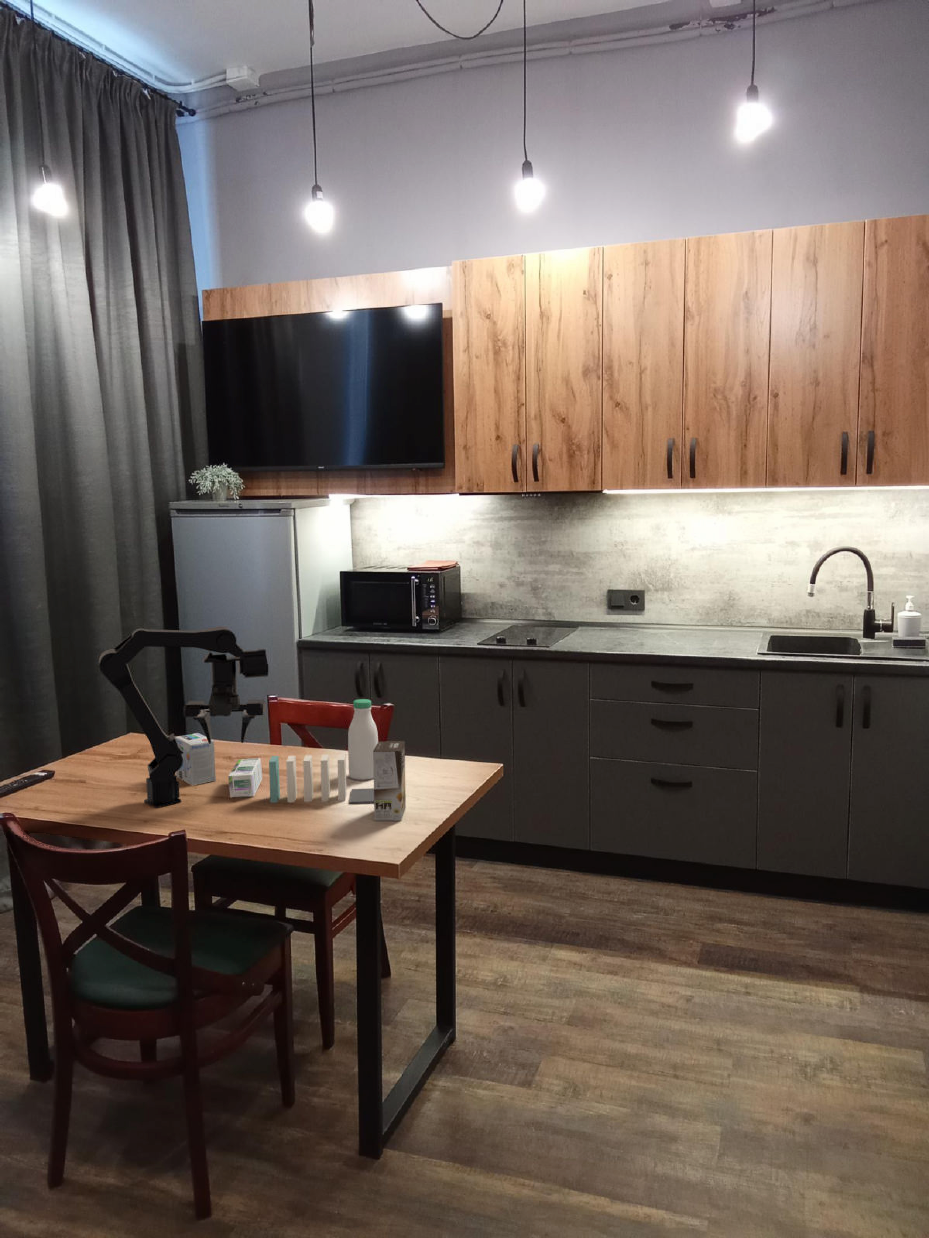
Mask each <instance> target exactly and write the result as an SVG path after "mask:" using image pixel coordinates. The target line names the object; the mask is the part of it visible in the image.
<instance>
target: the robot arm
mask: <svg viewBox="0 0 929 1238" xmlns="http://www.w3.org/2000/svg"><path fill="white" fill-rule="evenodd" d="M146 647H147V648H148V647H154V648H157V647H158V648H162V647H163V648H197V649H202V650H206V651H208V652H207V654H206V655H205V656H204V657H203V658H202V661H203V663H205V664H208V663H210V664H211V685H212V686H211V693H210V697H209V702H208V704H205V701H204V700H189V701H188V702H187V703H186V704H185V705H184V706H183V708H182V709H183V710H182V711H183V717H184V718H185V717H186V718H190V717H191V718H192V720H193V721H197V722H198V723H199V725H200V726H201V727H202V729H203V732H204V736H205V737H207V740H208V742H209V744H211V740H213V739H212V737H213V736H212V727H211V725H212V724H211V717H212V718H213V717H220V716H221V717H229V716H230V715H231V714H232V712H236V713H237V712H238V713H239V712H240V713H241V712H243V715H242V717H241V733H240V742H241V744H244V742H245V739H246V736H247V732H248V728H249V726H250V723H251V721H252V720H254V719H255V718H256V717H257V716H264V715H265V713H266V711H267V707H266V706H267V704H266V701H265V700H264V699H248V701H247V703H241V701H240V695H239V694H238V687H237V684H238V683H237V672H238V674H239V675H242V677H243V679H250V678H251V679H252V678H266V677H267V678H268V675H269V663H268V659H267V651H266V649H265V648H257V649H249V650H243V648H242V647H241V646H240V645H238V644H237V637H236V634H235V633H234V632H233V631H231V629H230V628H229V627H227V626H223V625H221V626H214V627H207V628H203V629H197V630H184V629H183V630H181V629H180V630H178V629H177V630H176V629H146V628H137V629H135V630H134V631H132V633H131V634H130V635H129V636H127V637H126V638H125V639H123V641H121V642H120V643H119V644H117V645H116V646H115V647H114V648H108V649H107V650H105V651H103V652H102V653H101V655H100V656H99V658H98V659H99V660H98V665H99V670H100V673H101V674H102V675H103V676H104V677H105V678H106V680H107V681H108V682H109V683H110V684H111V685H112V686H113V687H114V688H115V689H116V690H117V691H118V692H119V693H120V695H121V696H122V698H123V700H124V702H125V703H126V705H127V707H128V708H129V710H130V712H131V713H132V714H133V716H134V718H135V719H136V721H137V723H138V724H139V727H140V729H141V730H142V731H143V733H144V734H145V736H146V738H147V740H148V742H149V744H150V746H151V750H152V753H153V755H154V758H153V759H152V760H151V761H150V762H149V763H148V764H147V770H148V776H149V777H147V778H146V779H145V781H146V782H145V783H146V796H147V797H146V799H144V801H143V802H144V803H145V804H147V805H148V806H152V807H154V808H161V807H164V806H165V807H166V806H170V805H173V804H179V803H181V802H182V799H181V798H180V796H181V795H180V781H179V780H178V777H177V775H176V772H177V771H178V770H179V769H180V768H181V766H182V764H183V758H182V755H181V754H183V750H182V747H181V745H179V744H178V743H177V741H176V739H175V737H176V736H175V734H174V733H171V734H170V735H167V734H166V733H165V732H164V731H163V729H162V727H161V726H160V724H159V722H158V720H157V718H156V717H155V716H154V713H152V710H151V709H150V707H149V706H148V704H147V702H146V701H145V699H144V697H143V695H142V694H141V692H140V690H139V688H138V687H137V685H136V683H135V682H134V679H133V677H132V674H131V671H130V668H129V665H128V664H129V663H130V662H131V661H132V660H133V659H134V658H135V657H136V655H138V654H139V653H140V652H141V651H142V650H143V649H144V648H146ZM213 652H214V653H216V654H214V653H213ZM228 653H229V654H230V655H232V656H227V654H228ZM237 669H238V670H237Z"/></svg>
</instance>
